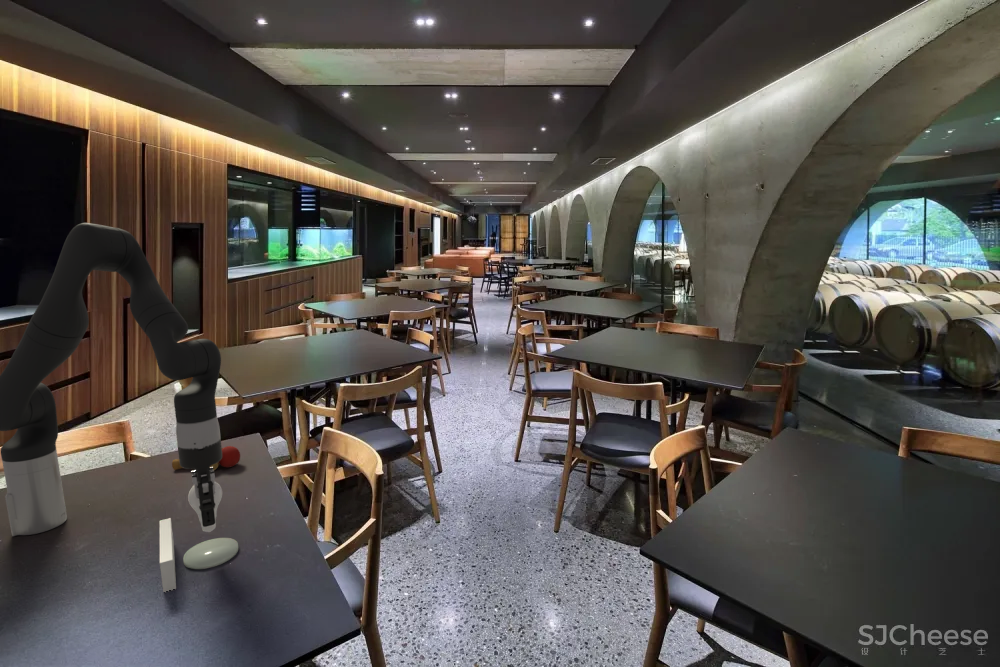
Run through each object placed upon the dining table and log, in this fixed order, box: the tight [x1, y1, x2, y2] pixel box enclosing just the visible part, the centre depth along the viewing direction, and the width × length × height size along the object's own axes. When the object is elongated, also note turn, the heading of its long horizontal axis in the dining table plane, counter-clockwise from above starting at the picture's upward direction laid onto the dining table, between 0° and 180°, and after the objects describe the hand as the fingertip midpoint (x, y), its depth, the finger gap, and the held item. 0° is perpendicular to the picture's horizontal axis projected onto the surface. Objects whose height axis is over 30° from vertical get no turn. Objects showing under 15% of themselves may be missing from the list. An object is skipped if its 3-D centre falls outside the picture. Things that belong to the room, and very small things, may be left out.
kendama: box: [171, 445, 241, 471], centre depth 152 cm, size 8×6×18 cm
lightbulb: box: [187, 480, 223, 533], centre depth 108 cm, size 6×6×11 cm
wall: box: [159, 517, 177, 593], centre depth 105 cm, size 2×18×6 cm, turn 33°
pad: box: [183, 537, 239, 570], centre depth 109 cm, size 10×10×1 cm
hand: (207, 518), depth 108 cm, fingers closed on lightbulb, 5 cm apart
